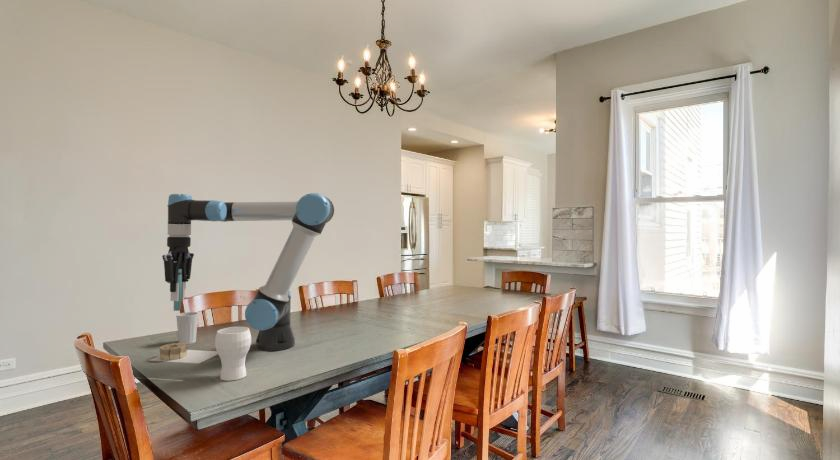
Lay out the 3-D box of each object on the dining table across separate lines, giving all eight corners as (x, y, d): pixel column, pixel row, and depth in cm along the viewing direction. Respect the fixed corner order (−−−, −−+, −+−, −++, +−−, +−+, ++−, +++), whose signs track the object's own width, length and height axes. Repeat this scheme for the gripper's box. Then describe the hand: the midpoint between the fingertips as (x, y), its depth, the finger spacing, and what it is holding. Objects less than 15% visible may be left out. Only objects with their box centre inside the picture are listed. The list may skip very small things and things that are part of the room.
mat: (223, 352, 162) (223, 351, 162) (198, 364, 148) (198, 363, 148) (176, 350, 165) (176, 349, 165) (148, 361, 151) (148, 360, 151)
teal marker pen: (182, 309, 157) (183, 269, 157) (177, 310, 155) (178, 269, 154) (176, 309, 157) (177, 268, 157) (171, 310, 155) (172, 269, 155)
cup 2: (222, 371, 141) (222, 326, 141) (255, 370, 142) (255, 325, 142) (209, 383, 131) (209, 334, 131) (245, 382, 132) (245, 333, 131)
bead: (191, 354, 159) (191, 343, 159) (175, 361, 151) (175, 349, 151) (171, 353, 160) (171, 342, 160) (154, 359, 152) (154, 348, 152)
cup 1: (188, 346, 171) (188, 316, 171) (171, 345, 172) (171, 315, 172) (202, 341, 179) (202, 312, 179) (186, 339, 180) (186, 311, 180)
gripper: (185, 235, 164) (183, 296, 164) (153, 236, 149) (152, 303, 149) (202, 236, 163) (200, 297, 163) (172, 236, 148) (170, 304, 148)
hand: (177, 299), depth 156 cm, fingers closed on teal marker pen, 2 cm apart
